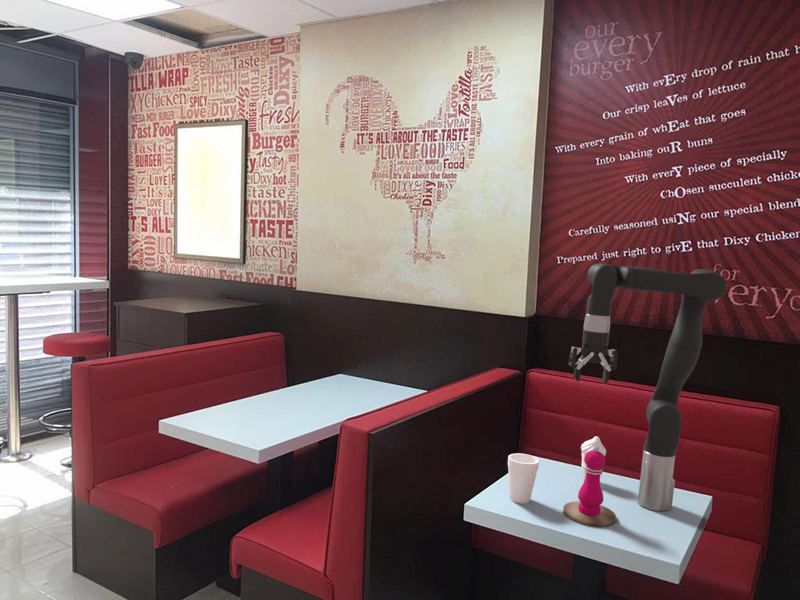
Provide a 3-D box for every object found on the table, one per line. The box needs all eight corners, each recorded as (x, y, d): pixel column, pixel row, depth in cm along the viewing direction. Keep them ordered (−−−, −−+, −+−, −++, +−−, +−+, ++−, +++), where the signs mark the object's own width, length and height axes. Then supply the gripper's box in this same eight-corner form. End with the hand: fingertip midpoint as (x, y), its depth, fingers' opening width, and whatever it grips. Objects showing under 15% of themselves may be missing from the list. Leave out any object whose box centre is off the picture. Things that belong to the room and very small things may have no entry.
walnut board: (604, 506, 208) (605, 502, 207) (623, 528, 193) (624, 524, 193) (556, 504, 207) (557, 500, 206) (572, 525, 192) (572, 521, 192)
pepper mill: (605, 517, 196) (613, 450, 194) (582, 516, 196) (589, 449, 194) (595, 506, 204) (602, 442, 202) (573, 506, 203) (579, 441, 201)
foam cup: (526, 508, 202) (530, 466, 200) (498, 499, 207) (502, 458, 206) (540, 499, 209) (544, 459, 208) (513, 490, 215) (517, 451, 213)
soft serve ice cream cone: (572, 480, 228) (577, 434, 227) (585, 475, 234) (590, 430, 232) (594, 488, 222) (599, 441, 221) (607, 483, 228) (612, 437, 226)
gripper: (577, 329, 200) (571, 383, 201) (624, 333, 201) (618, 386, 202) (569, 326, 207) (564, 377, 209) (614, 329, 208) (609, 380, 210)
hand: (590, 381), depth 205 cm, fingers open, 8 cm apart
